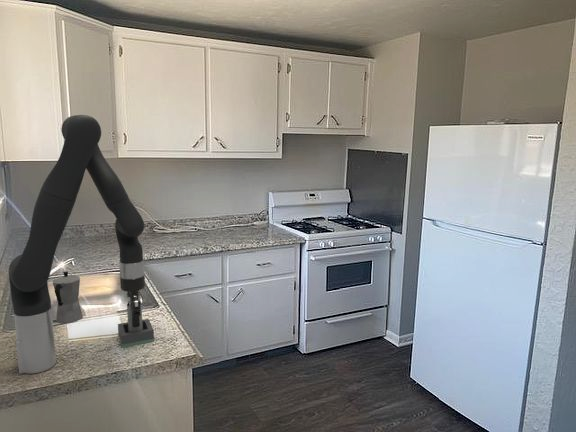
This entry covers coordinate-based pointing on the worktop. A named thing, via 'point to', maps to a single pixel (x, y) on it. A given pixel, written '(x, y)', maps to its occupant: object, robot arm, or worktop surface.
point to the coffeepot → (67, 298)
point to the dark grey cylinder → (130, 327)
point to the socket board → (135, 334)
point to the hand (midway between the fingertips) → (135, 323)
